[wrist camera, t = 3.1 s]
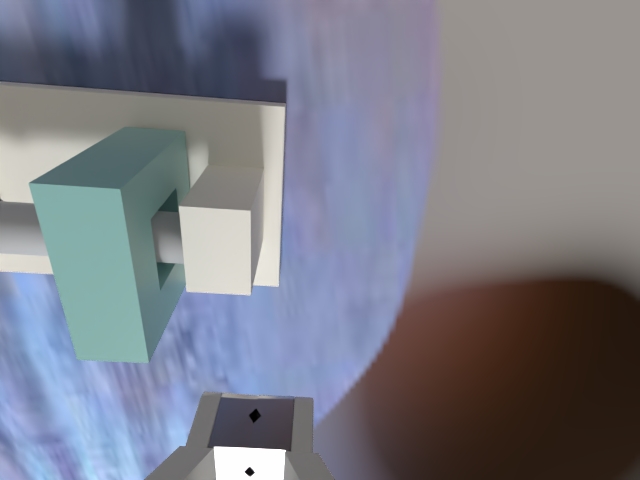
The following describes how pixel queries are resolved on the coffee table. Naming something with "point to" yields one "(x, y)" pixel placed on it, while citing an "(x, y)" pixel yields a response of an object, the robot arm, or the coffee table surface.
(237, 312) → the coffee table surface
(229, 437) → the robot arm
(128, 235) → the collar
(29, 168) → the pipe stand
